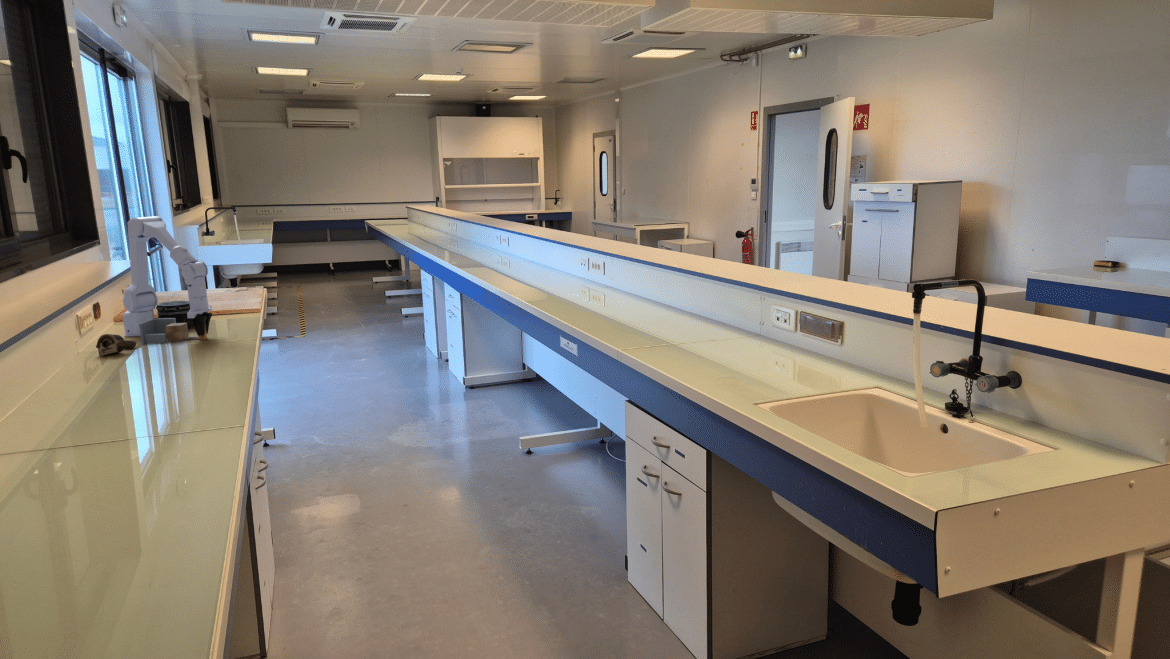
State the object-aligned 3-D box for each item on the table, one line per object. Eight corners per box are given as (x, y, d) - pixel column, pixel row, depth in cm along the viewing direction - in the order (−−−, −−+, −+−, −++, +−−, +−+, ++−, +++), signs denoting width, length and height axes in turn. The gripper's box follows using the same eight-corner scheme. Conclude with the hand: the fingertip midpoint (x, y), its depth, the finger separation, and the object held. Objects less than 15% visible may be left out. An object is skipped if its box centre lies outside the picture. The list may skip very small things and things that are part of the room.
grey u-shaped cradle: (141, 343, 253) (139, 324, 252) (156, 337, 263) (153, 318, 261) (164, 343, 254) (161, 323, 252) (178, 337, 263) (175, 318, 262)
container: (203, 325, 285) (200, 299, 283) (182, 332, 272) (179, 305, 270) (172, 325, 286) (169, 300, 284) (150, 332, 273) (146, 305, 271)
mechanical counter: (84, 339, 237) (102, 335, 232) (122, 328, 248) (140, 323, 243) (93, 360, 238) (111, 356, 233) (130, 348, 249) (148, 344, 244)
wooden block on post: (167, 341, 256) (165, 324, 255) (174, 338, 261) (172, 321, 260) (202, 340, 257) (200, 323, 255) (209, 337, 261) (207, 320, 260)
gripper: (200, 299, 249) (205, 338, 252) (218, 293, 263) (223, 330, 266) (178, 300, 249) (184, 339, 251) (198, 293, 263) (203, 330, 266)
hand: (202, 334), depth 259 cm, fingers closed on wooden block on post, 2 cm apart
